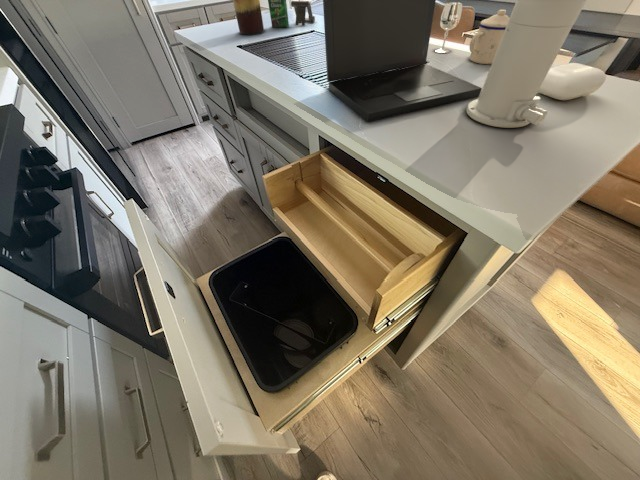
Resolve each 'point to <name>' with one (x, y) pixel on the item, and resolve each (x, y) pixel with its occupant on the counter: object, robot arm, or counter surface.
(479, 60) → the teacup with lid
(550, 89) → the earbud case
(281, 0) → the coffee box
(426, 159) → the counter surface
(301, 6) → the tablet stand
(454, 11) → the wineglass
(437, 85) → the laptop
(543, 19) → the robot arm
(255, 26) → the vase
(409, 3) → the laptop screen
